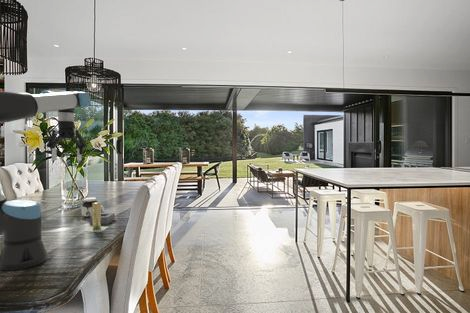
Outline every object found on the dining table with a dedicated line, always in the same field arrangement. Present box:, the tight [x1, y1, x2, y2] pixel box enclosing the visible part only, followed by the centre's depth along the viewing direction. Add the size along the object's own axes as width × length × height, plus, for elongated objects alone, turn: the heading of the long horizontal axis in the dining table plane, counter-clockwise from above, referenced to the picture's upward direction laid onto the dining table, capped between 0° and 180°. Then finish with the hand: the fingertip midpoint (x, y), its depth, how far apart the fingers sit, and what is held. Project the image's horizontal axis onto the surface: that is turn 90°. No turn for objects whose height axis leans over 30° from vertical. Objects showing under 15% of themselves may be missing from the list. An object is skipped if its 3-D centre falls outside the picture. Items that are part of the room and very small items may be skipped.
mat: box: [83, 226, 109, 233], centre depth 151 cm, size 9×9×1 cm
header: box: [89, 212, 116, 225], centre depth 165 cm, size 10×10×4 cm
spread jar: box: [81, 196, 106, 219], centre depth 179 cm, size 12×11×12 cm
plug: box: [92, 201, 102, 230], centre depth 150 cm, size 4×4×14 cm
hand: (66, 160), depth 151 cm, fingers open, 13 cm apart
